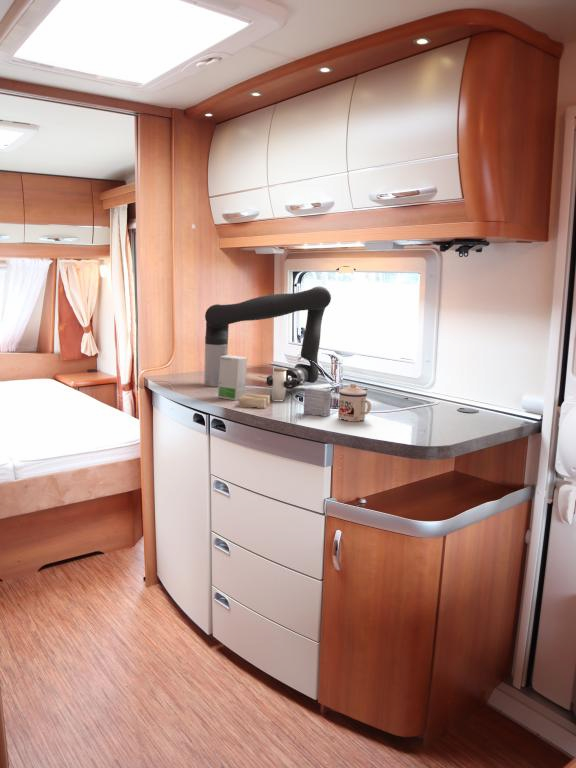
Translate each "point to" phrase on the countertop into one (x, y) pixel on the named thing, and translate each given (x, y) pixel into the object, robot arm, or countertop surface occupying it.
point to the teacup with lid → (353, 403)
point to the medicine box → (317, 401)
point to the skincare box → (232, 377)
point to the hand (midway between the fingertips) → (276, 383)
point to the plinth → (254, 400)
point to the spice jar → (278, 383)
